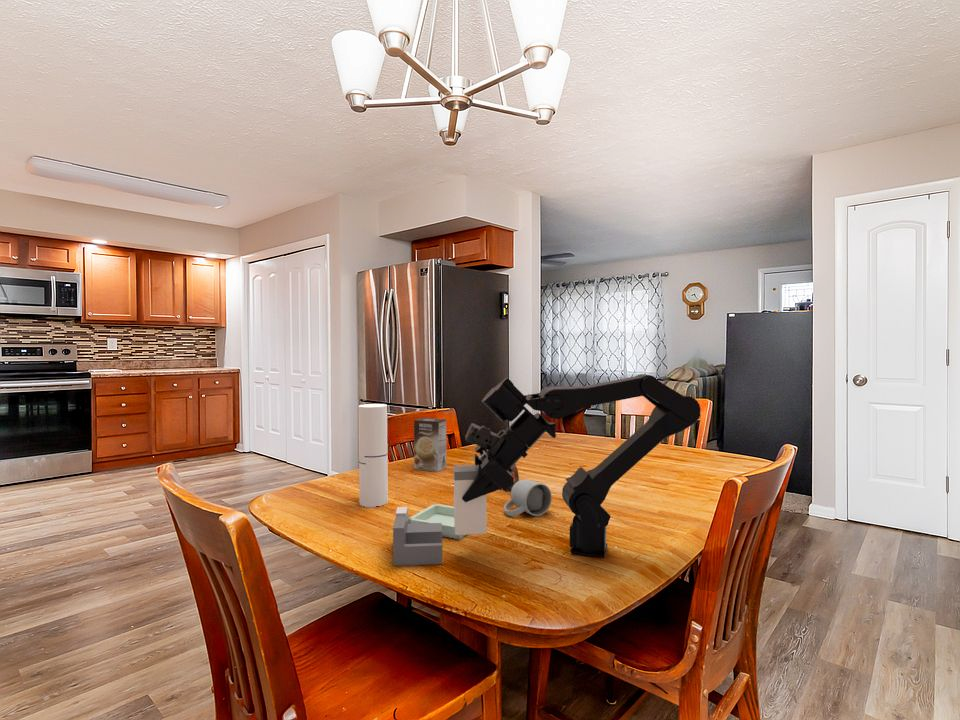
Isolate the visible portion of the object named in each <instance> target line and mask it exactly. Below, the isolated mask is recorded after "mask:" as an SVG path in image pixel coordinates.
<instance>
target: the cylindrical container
mask: <svg viewBox="0 0 960 720" xmlns="http://www.w3.org/2000/svg"><path fill="white" fill-rule="evenodd" d="M357 408H358V474H359V475H358V482H359V483H358V484H359V485H358V487H359V488H358V489H359V492H358V493H359V497H358V499H359V500H358V501H359V503H360V504H359V505H360V506H361V505H362V506H361V507H363V506H365V507H364V508H377V507H376V506H380V507H383V506H382V505H384V504H386V503H387V504H388V503H389V490H388V489H389V486H388V485H389V484H388V483H389V481H388V480H389V479H388V478H389V477H388V476H389V474H388V472H389V471H388V468H389V465H388V464H389V463H388V461H389V458H388V455H389V454H388V405H387V404H386V403H364V404H360V405H358V407H357ZM387 504H386V505H387ZM384 506H385V505H384Z"/></svg>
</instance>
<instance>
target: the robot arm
mask: <svg viewBox="0 0 960 720" xmlns="http://www.w3.org/2000/svg"><path fill="white" fill-rule="evenodd" d="M639 397H643V398H644V399H646V400H647V401H648V402H649V403H651V404H652V405H653V406H654V408H653V409H652V411H651V413H650V415H649V417H648V419H647V421H645V423H644V424H643V425H642V426H641V427H639V428H638V429H637V430H636V431H635V432H634V433H632V435H630V436H629V437H628V438H626V440H624V442H622V443H621V444H620V445H619V446H618V447H617V448H616V449H615V450H613V451H612V452H611V453H610V454H608V456H606V458H605V459H603V460H602V461H601V462H600V463H599V464H598V465H597V466H595V467H593V468H591V469H589V470H585V469H584V468H583V467H582V466H579V468H578V469H577V470H576V471H575V472H574V473H573V474H572V475H571V476H569V477H566V478H565V482H566V483H565V484H564V485H562V489H561V496H562V500H563V501H564V503H565V504H566V506H567V507H568V508H569V509H570V511H571V512H572V513H573V514H574V515H573V518H572V522H571V524H570V525H569V547H570V548H571V549H570V554H572V555H577V556H578V555H579V556H586V557H595V558H596V557H597V558H606V553H607V550H608V543H607V526H608V525H609V523H610V519H611V514H609V512H608V511H607V510H606V509H605V508H604V507H603V506H602V504H603V503H604V501H605V500H606V498H607V495H608V494H609V492H610V489H611V487H612V486H613V485H615V483H616V482H618V481H619V479H621V478H622V477H623V476H624V475H625V474H626V473H628V472H629V471H630V470H631V469H633V467H634V466H636V465H637V464H638V463H639V462H640V461H642V459H643V458H645V457H646V456H647V455H648V454H649V453H651V451H652V450H654V449H655V447H656V448H657V446H658V445H659V444H660V443H661V442H662V441H664V440H665V439H666V438H668V437H671V436H673V435H676V434H679V433H681V432H683V431H685V430H686V429H688V428H690V427H691V426H693V425H694V424H696V423H697V422H698V421H699V420H700V418H701V410H702V409H701V405H700V403H699V402H698V400H697V399H696V398H694V397H692V396H689V395H685V394H680V393H679V392H677V391H676V390H674V389H672V388H671V387H669V386H668V385H666V384H665V383H662V382H661V381H660V380H658V379H657V378H656V377H655V376H654V375H651V374H645V373H641V374H638V375H635V376H630V377H625V378H619V379H615V380H610V381H605V382H599V383H593V384H588V385H583V386H572V385H571V386H566V385H564V386H563V385H562V386H561V385H560V386H559V385H558V386H557V385H555V386H546V387H544V388H542V389H541V390H540V391H539V393H537V392H536V393H532V394H529V393H528V394H526V395H524V394H523V393H522V391H520V390H519V389H518V388H517V387H516V386H515V384H514V383H513V381H511V380H510V379H509V378H508V377H505V378H504V379H503V380H502V381H500V382H499V383H497V385H496V386H494V387H493V386H492V388H491V389H490V390H489V391H488V392H487V393H486V394H485V396H484V397H483V398H482V400H481V402H482V403H483V405H484V406H486V408H487V409H489V410H490V411H491V412H492V413H493V415H495V417H497V418H498V419H499V420H500V421H501V422H506V421H508V422H510V423H511V422H512V421H513V423H511V425H509V427H508V428H506V429H501V430H499V432H498V433H495V432H493V431H491V428H490V427H486V426H485V425H482V426H480V425H477V424H476V423H474V422H472V423H470V425H469V427H468V429H467V432H466V434H465V435H464V438H465V441H466V442H467V443H469V444H471V445H476V447H475V448H474V449H475V452H476V453H477V454H479V455H477V454H476V453H474V465H478V475H477V477H476V478H475V479H474V481H473V482H472V484H471V485H470V487H469V488H468V489H467V491H466V492H465V494H464V495H463V497H462V500H463V501H464V502H468V501H470V500H473V499H475V498H478V497H480V496H483V495H486V494H487V495H489V494H491V493H494V492H497V491H502V490H503V492H505V493H508V492H509V491H510V490H511V489H510V488H511V487H512V486H513V485H514V478H513V476H512V474H511V473H510V472H511V471H512V468H511V467H512V466H513V465H514V464H516V463H517V462H519V460H520V459H521V458H523V459H525V458H526V457H527V456H528V453H527V452H528V451H529V450H530V449H531V448H532V447H533V445H535V444H536V443H537V442H538V440H540V438H541V437H542V436H544V434H545V433H547V434H548V435H549V436H550V437H551V438H552V439H555V438H557V434H556V433H557V432H556V427H557V424H556V423H555V422H553V421H552V422H549V421H548V420H546V417H545V418H544V416H543V415H541V413H540V412H542V413H543V414H544V415H545V416H547V417H549V418H550V419H553V420H560V419H563V418H566V417H569V416H571V415H573V414H576V413H578V412H579V411H581V410H584V409H585V408H588V407H592V406H597V405H602V404H608V403H612V402H617V401H624V400H627V399H633V398H639ZM525 405H527V406H529V407H530V408H531V409H532V410H534V411H539V412H537V413H535V414H533V413H532V412H531V411H530V410H529V409H527V407H526V406H525ZM480 465H481V466H480Z"/></svg>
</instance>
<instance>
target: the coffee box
mask: <svg viewBox="0 0 960 720" xmlns="http://www.w3.org/2000/svg"><path fill="white" fill-rule="evenodd" d="M446 468H447V419H446V418H445V419H443V418H436V417H435V418H434V417H433V418H432V417H420V418H417V419H414V420H413V469H414V470H419V471H425V472H426V471H428V472H437V473H438V472H440V471H443V470H445V469H446Z"/></svg>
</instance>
